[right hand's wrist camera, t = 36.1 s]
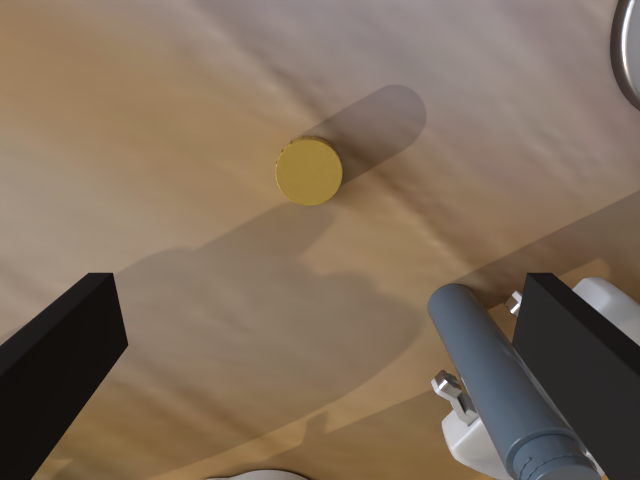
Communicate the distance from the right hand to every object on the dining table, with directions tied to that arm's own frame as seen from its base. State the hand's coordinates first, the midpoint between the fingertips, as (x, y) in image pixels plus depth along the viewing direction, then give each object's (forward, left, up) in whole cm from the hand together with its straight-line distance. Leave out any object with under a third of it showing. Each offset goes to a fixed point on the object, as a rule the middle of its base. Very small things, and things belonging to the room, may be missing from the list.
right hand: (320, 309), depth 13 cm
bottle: (-9, +16, -23) cm, 29 cm away
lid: (+1, 0, -21) cm, 21 cm away
